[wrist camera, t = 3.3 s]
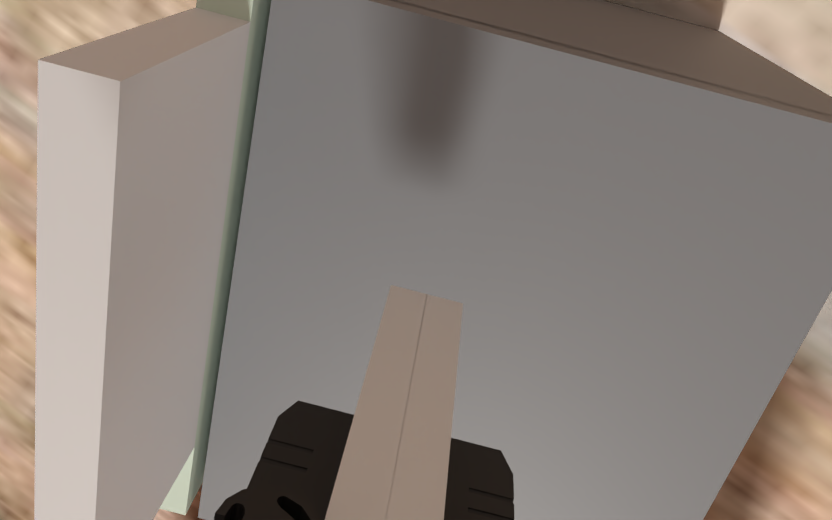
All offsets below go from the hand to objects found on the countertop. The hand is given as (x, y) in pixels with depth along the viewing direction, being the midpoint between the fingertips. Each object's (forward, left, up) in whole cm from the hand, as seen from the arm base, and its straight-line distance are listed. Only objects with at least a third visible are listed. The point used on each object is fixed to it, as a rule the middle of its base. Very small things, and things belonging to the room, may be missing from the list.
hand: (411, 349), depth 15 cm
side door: (+6, +2, -19) cm, 20 cm away
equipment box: (-2, +2, -19) cm, 20 cm away
